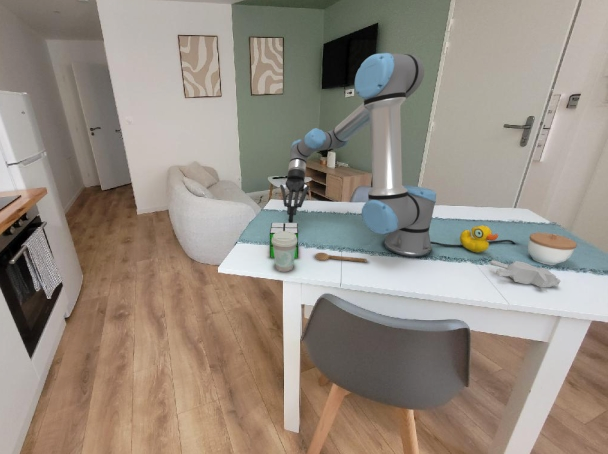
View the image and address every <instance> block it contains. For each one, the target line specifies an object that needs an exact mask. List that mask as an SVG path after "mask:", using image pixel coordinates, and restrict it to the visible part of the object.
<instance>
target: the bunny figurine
mask: <svg viewBox="0 0 608 454" xmlns="http://www.w3.org/2000/svg"><path fill="white" fill-rule="evenodd" d="M489 264H490V265H491V266H495V267H498V268H497V269H496V274H497V275H498V276H501V277H510V278H511V279H512V280H513V282H515V283H519V284H523V285H530V284H532V285H534V286H537V287H539V288H552V287H554V286H559V285H560V283H561V280H560V279H559V277H557V276H556V274H554V273H552V272H551V271H550V270H549V269H547V268H545V267H536V266H534V265H532V264H530V263H527V262H524V261H519V260H518V261H517V260H515V261H513V262H511V264H505V263H503V262H500V261H498V260H494V259H493V260H490V261H489Z"/></svg>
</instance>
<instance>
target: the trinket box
mask: <svg viewBox="0 0 608 454" xmlns="http://www.w3.org/2000/svg"><path fill="white" fill-rule="evenodd" d="M577 246H578V244H577V242H576V241H575V240H574V239H571V238H569V237H565V236H564V235H559V234H556V233H548V232H533V233H531V234H530V235H529V237H528V242H527V252H528V255H529V256H530V257H531V259H532V260H533V261H535V262H537V263H539V264H544V265H548V266H556V265H558V264H561V263H564V262H565V261H567V260H568V259H570V257H571V256H572V255H573V253H574V252H575V249H576V248H577Z"/></svg>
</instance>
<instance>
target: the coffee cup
mask: <svg viewBox="0 0 608 454" xmlns="http://www.w3.org/2000/svg"><path fill="white" fill-rule="evenodd" d="M297 242H298V243H299V240H298V241H297V238H296V235H295V234H294V233H292V232H288V231H280V232H277V233H275V234H274V235H273V238H272V243H273V250H274V257H275V258H274V263H275V268H276V270H277V271H279V272H283V273H285V272H291V271H292V270H293V268H294V262H295V258H294V257H295V250H296V244H297Z"/></svg>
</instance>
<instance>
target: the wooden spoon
mask: <svg viewBox="0 0 608 454" xmlns="http://www.w3.org/2000/svg"><path fill="white" fill-rule="evenodd" d="M315 259H316V260H317V261H323V262H324V261H328V260H330V259H331V260H339V261H350V262H359V263H360V262H361V263H366V262H368V259H367V258H364V257H352V256H341V255H331V254H327V253H325V252H317V253H316V254H315Z"/></svg>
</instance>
